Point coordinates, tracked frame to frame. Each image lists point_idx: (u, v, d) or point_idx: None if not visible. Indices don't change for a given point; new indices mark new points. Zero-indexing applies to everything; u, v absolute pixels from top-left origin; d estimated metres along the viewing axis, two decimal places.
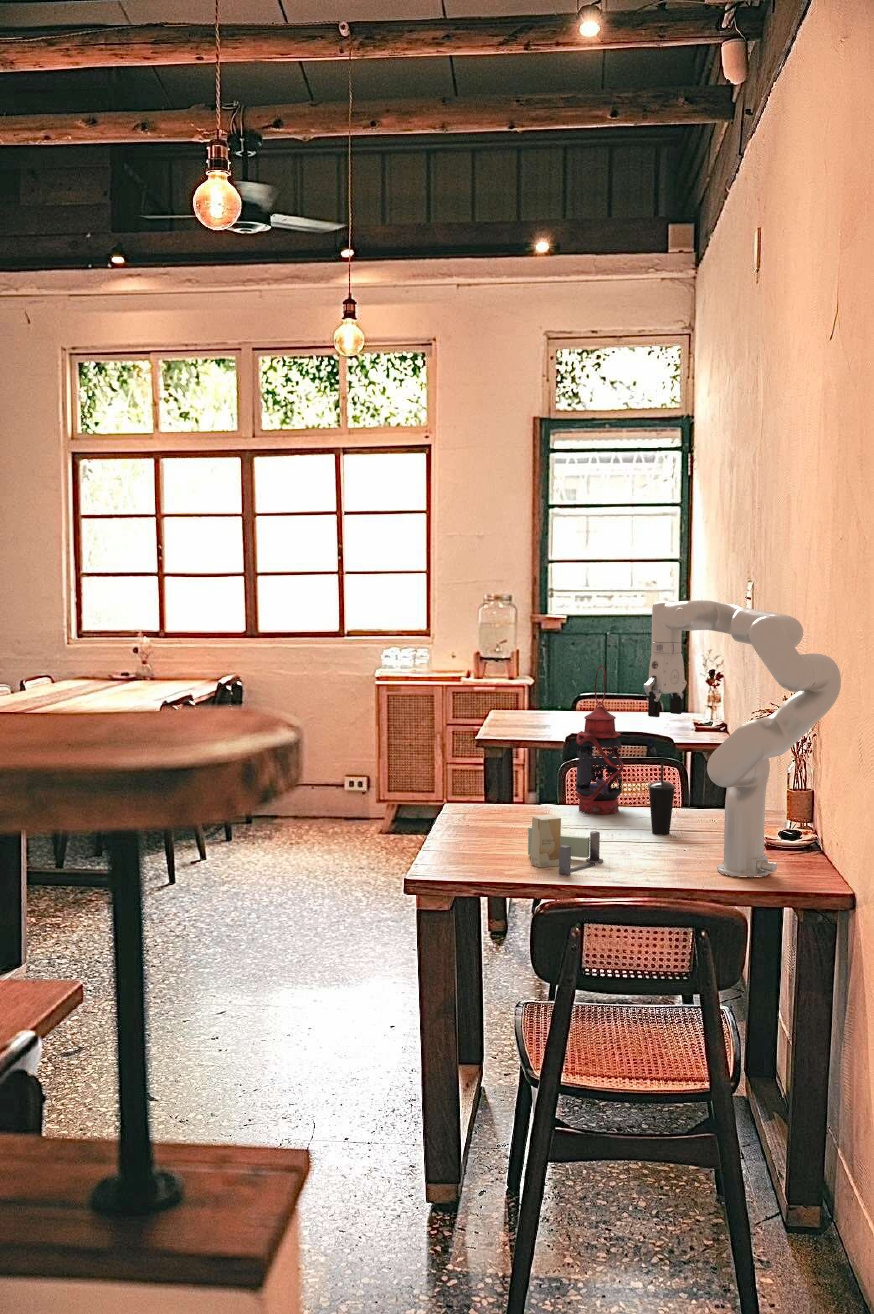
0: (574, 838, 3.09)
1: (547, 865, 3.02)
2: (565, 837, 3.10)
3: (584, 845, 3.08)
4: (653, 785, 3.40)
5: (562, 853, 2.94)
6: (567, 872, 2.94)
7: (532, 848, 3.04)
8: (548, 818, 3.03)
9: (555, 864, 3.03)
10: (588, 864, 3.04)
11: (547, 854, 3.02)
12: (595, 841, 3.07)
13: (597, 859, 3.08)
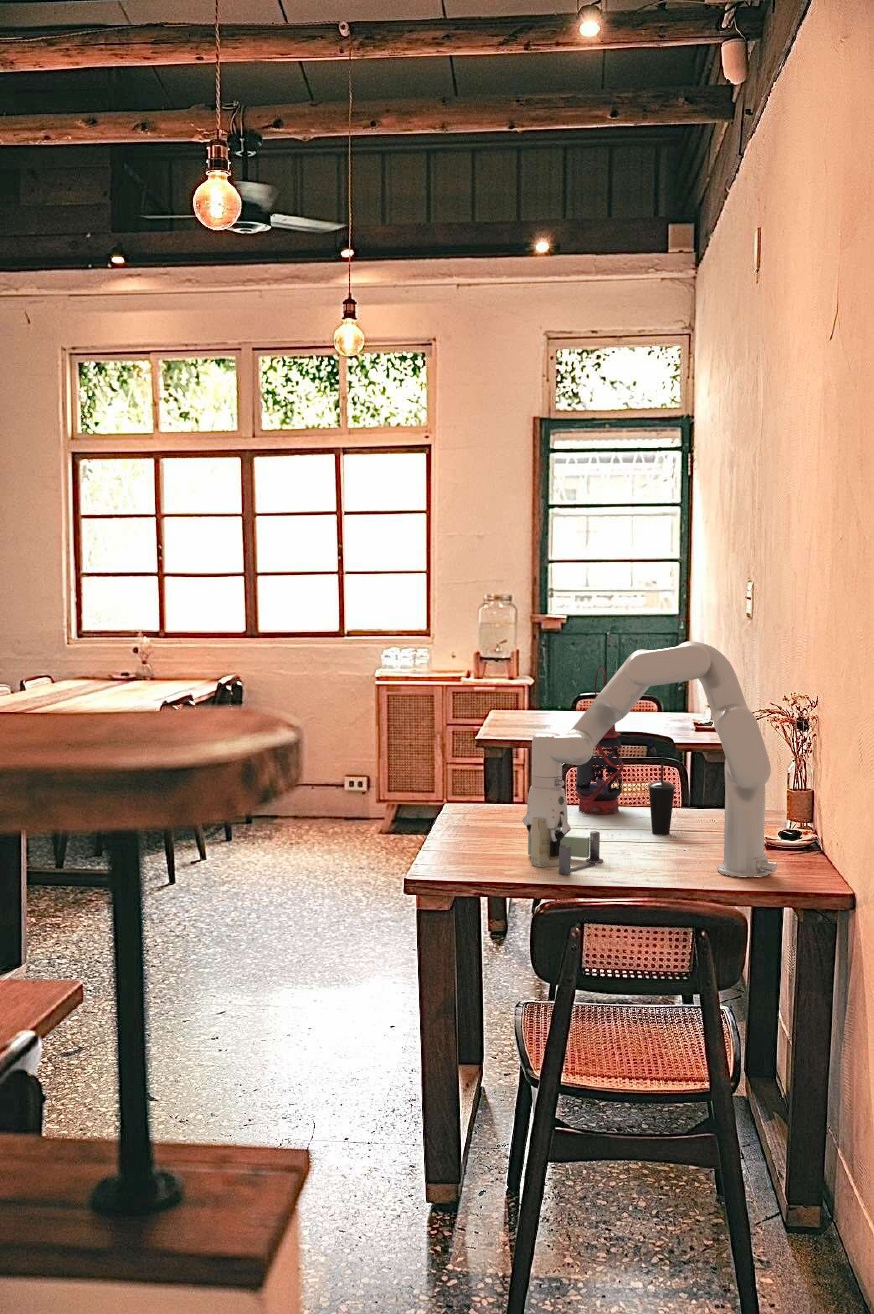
0: (574, 838, 3.09)
1: (547, 865, 3.02)
2: (565, 837, 3.10)
3: (584, 845, 3.08)
4: (653, 785, 3.40)
5: (562, 853, 2.94)
6: (567, 872, 2.94)
7: (532, 848, 3.04)
8: None
9: (555, 864, 3.03)
10: (588, 864, 3.04)
11: (547, 854, 3.02)
12: (595, 841, 3.07)
13: (597, 859, 3.08)
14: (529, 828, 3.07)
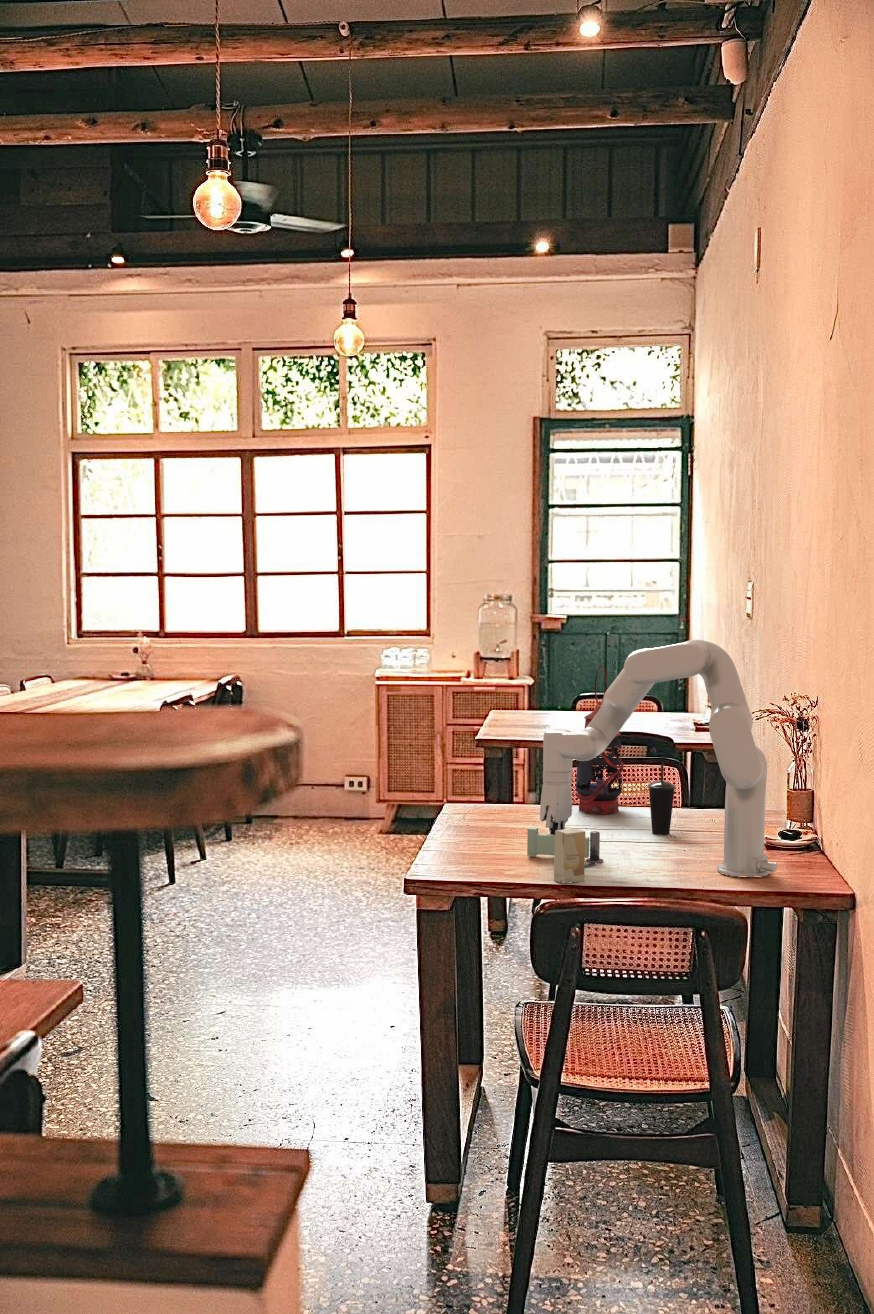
0: None
1: (572, 881, 2.87)
2: None
3: None
4: (653, 785, 3.40)
5: None
6: None
7: (556, 863, 2.88)
8: (572, 832, 2.87)
9: (580, 880, 2.88)
10: (588, 864, 3.04)
11: (572, 869, 2.87)
12: (595, 841, 3.07)
13: (597, 859, 3.08)
14: (555, 829, 3.12)
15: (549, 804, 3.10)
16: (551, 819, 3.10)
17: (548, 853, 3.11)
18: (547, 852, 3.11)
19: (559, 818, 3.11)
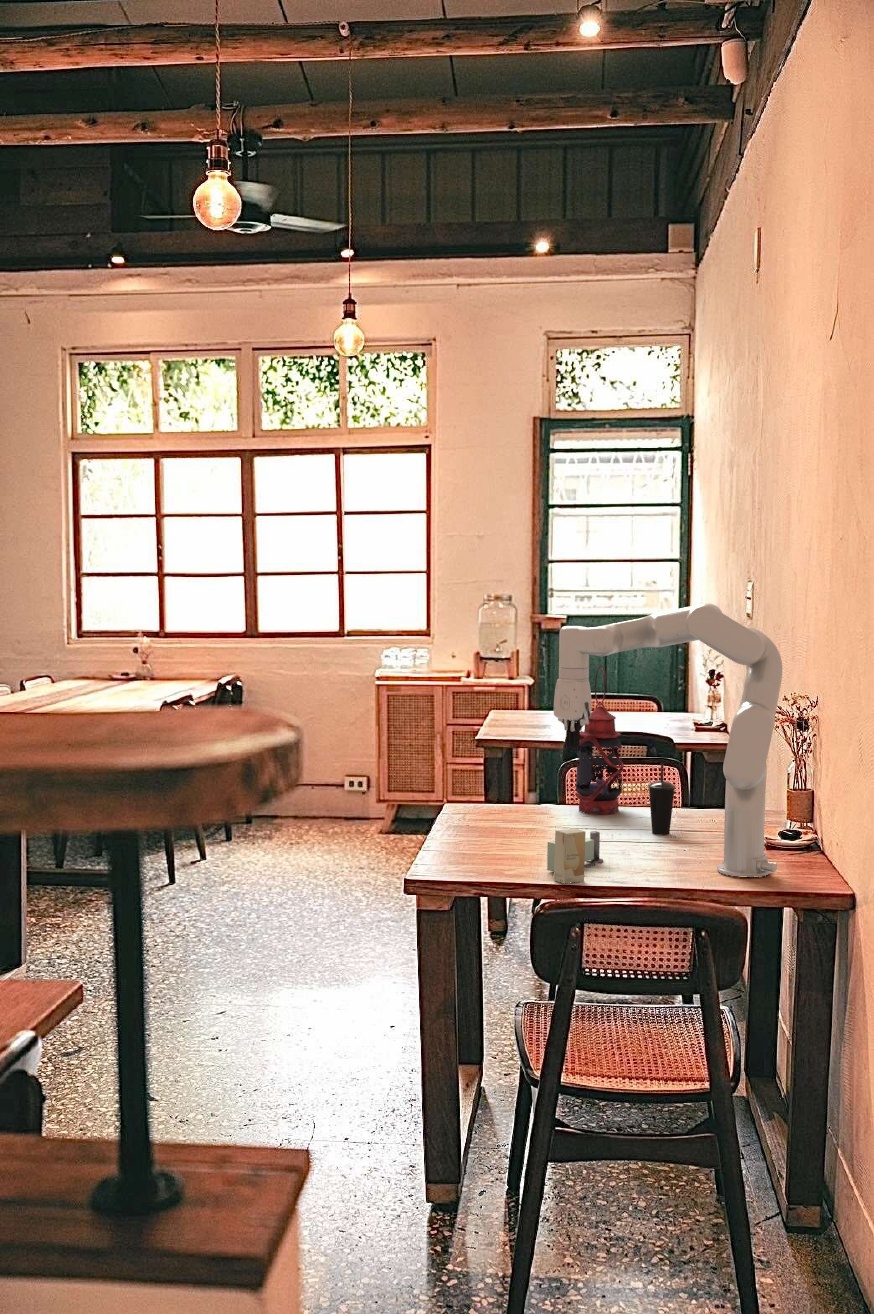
0: (585, 843, 3.04)
1: (572, 881, 2.87)
2: None
3: (591, 847, 3.06)
4: (653, 785, 3.40)
5: None
6: None
7: (556, 863, 2.88)
8: (572, 832, 2.87)
9: (580, 880, 2.88)
10: (588, 864, 3.04)
11: (572, 869, 2.87)
12: (595, 841, 3.07)
13: (597, 859, 3.08)
14: None
15: (587, 701, 3.05)
16: None
17: None
18: None
19: None
